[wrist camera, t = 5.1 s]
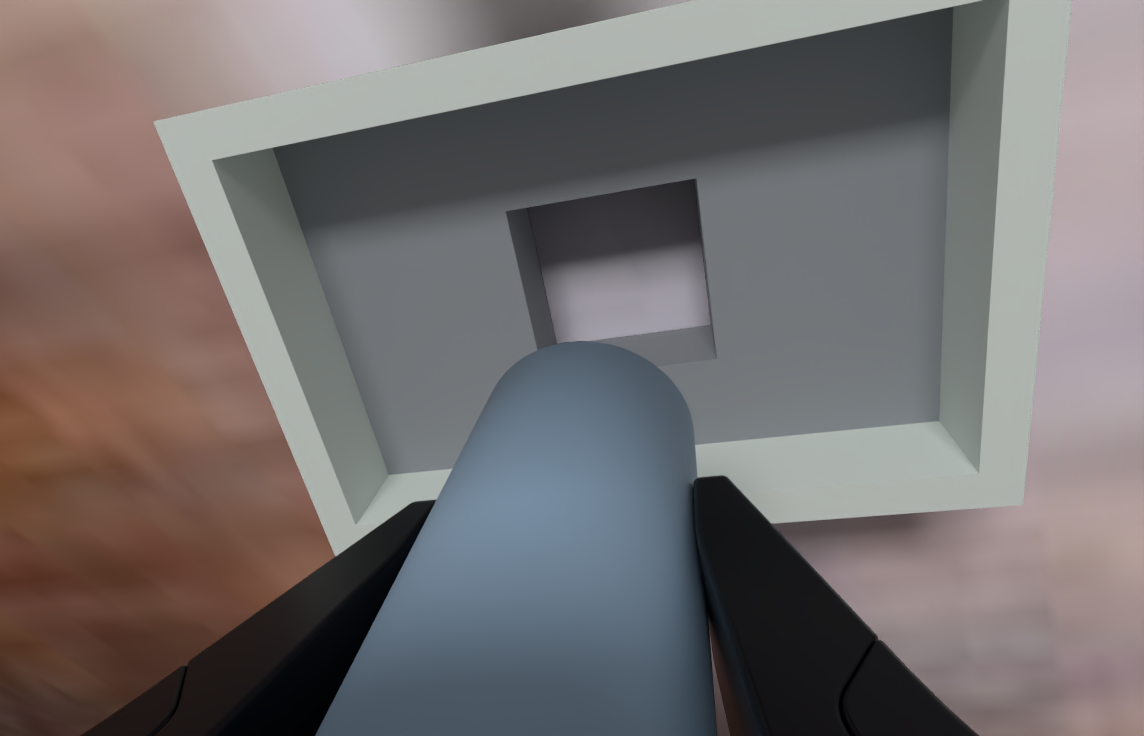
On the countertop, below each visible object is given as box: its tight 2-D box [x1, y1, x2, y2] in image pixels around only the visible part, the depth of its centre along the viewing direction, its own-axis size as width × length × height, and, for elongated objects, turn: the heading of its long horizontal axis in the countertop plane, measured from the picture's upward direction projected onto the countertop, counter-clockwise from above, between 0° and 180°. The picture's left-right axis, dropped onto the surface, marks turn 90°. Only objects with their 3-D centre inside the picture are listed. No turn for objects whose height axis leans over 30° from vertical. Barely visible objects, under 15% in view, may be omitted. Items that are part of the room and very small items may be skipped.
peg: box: [315, 341, 717, 736], centre depth 7 cm, size 3×3×9 cm
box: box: [153, 0, 1072, 556], centre depth 17 cm, size 12×18×5 cm, turn 101°
